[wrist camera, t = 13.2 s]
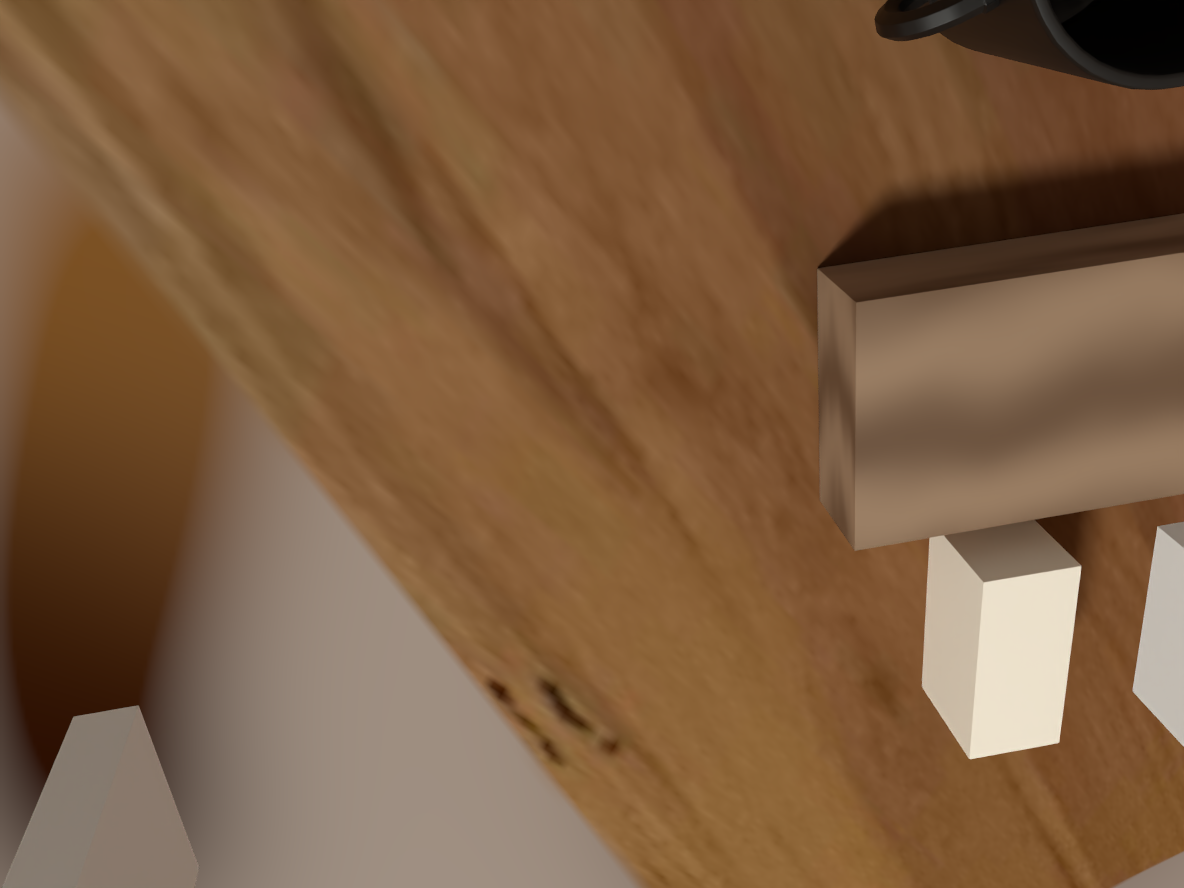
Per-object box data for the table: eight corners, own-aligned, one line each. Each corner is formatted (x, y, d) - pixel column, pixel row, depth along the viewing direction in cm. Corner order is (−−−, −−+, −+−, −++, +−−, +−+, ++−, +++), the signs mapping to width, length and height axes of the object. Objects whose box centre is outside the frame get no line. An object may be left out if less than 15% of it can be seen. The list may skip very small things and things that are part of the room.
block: (983, 582, 42) (969, 764, 46) (1081, 565, 42) (1058, 748, 47) (929, 518, 47) (920, 689, 51) (1018, 504, 47) (1002, 675, 51)
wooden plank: (817, 268, 41) (856, 302, 37) (1315, 193, 42) (1398, 219, 39) (819, 500, 45) (855, 550, 42) (1270, 424, 47) (1340, 466, 43)
